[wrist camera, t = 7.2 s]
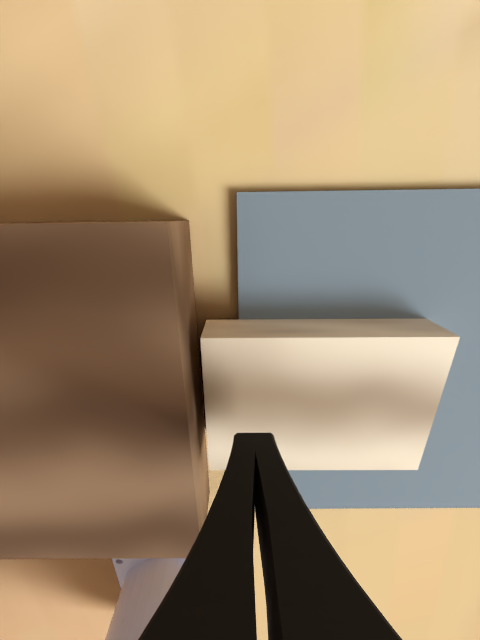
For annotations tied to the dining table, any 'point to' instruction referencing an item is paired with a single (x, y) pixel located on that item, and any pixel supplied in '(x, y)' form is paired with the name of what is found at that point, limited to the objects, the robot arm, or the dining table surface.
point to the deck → (99, 392)
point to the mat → (377, 312)
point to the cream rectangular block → (326, 388)
